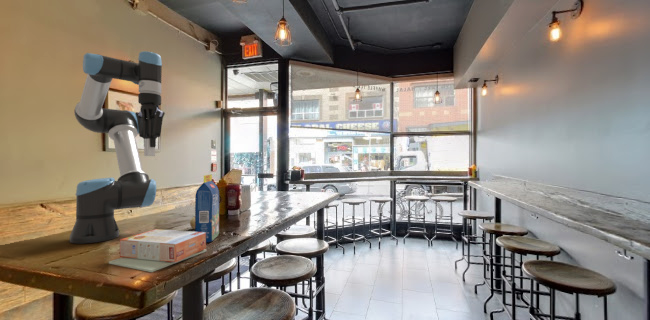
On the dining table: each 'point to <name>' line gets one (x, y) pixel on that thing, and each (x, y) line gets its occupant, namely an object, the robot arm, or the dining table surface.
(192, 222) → the onion
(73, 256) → the dining table surface
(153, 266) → the mat
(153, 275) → the dining table surface
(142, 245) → the cracker box
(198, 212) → the blue food package
